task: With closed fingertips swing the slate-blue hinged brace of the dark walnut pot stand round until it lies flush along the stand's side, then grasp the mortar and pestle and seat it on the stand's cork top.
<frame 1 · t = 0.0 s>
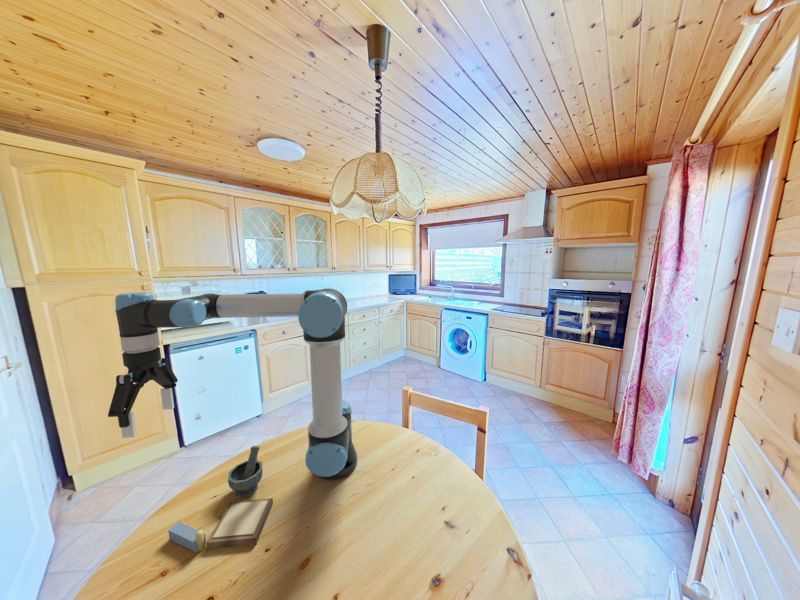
hand: (150, 421, 76), 28 cm above the table, fingers open, 13 cm apart
brace: (187, 534, 70), point 2 cm above the table, hinge at -25.0°
mortar and pestle: (248, 488, 88), on the table
stand: (242, 524, 75), on the table
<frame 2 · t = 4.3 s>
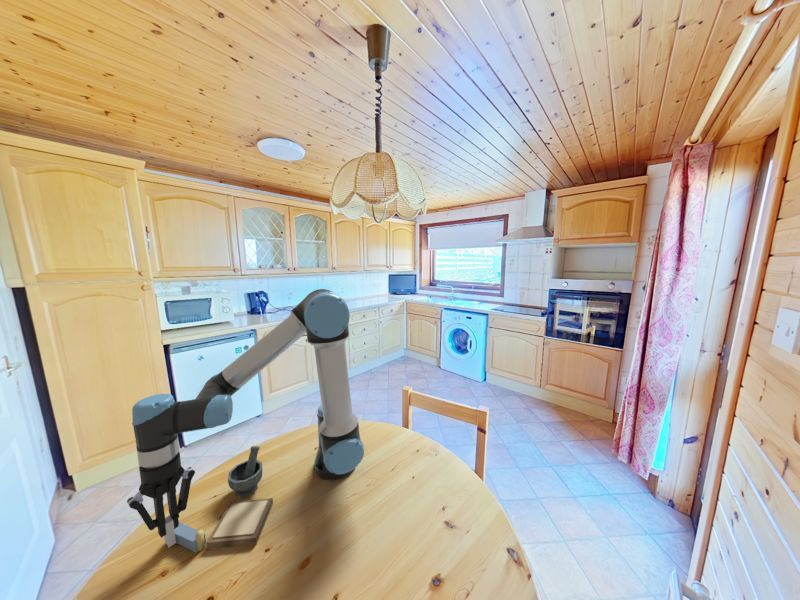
hand: (170, 542, 69), 1 cm above the table, fingers closed
brace: (187, 534, 70), point 2 cm above the table, hinge at -25.0°, touching gripper
everything else where it was.
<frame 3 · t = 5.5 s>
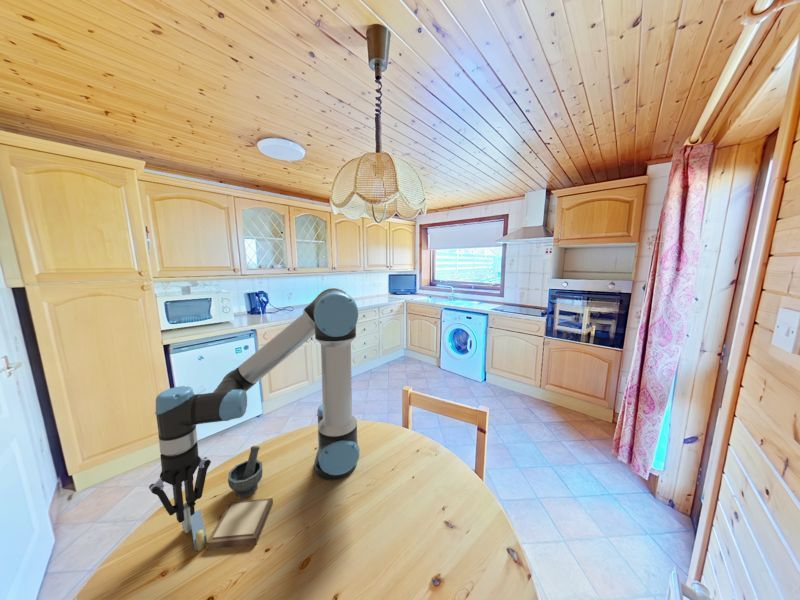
hand: (187, 528, 73), 1 cm above the table, fingers closed
brace: (197, 527, 72), point 2 cm above the table, hinge at -53.1°, touching gripper
everything else where it was.
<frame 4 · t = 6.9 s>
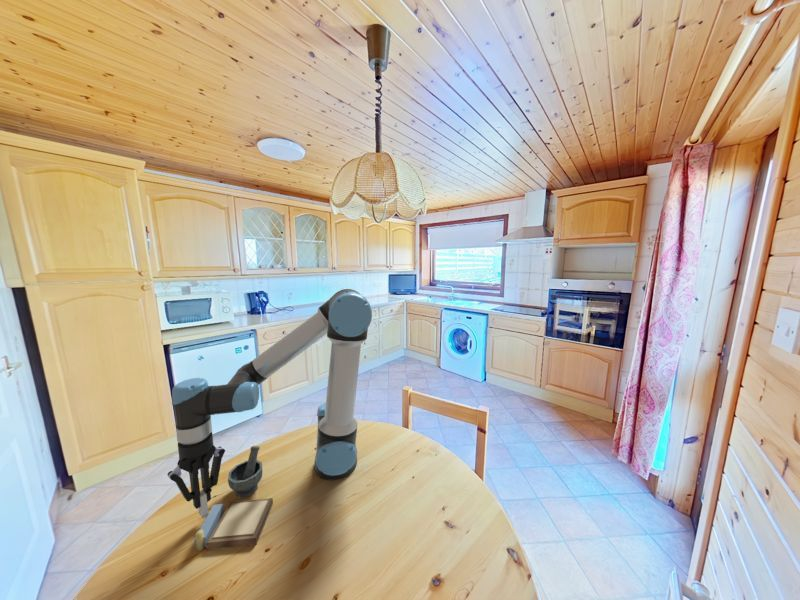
hand: (203, 513, 76), 3 cm above the table, fingers closed
brace: (209, 523, 73), point 2 cm above the table, hinge at -85.0°, touching gripper
everything else where it was.
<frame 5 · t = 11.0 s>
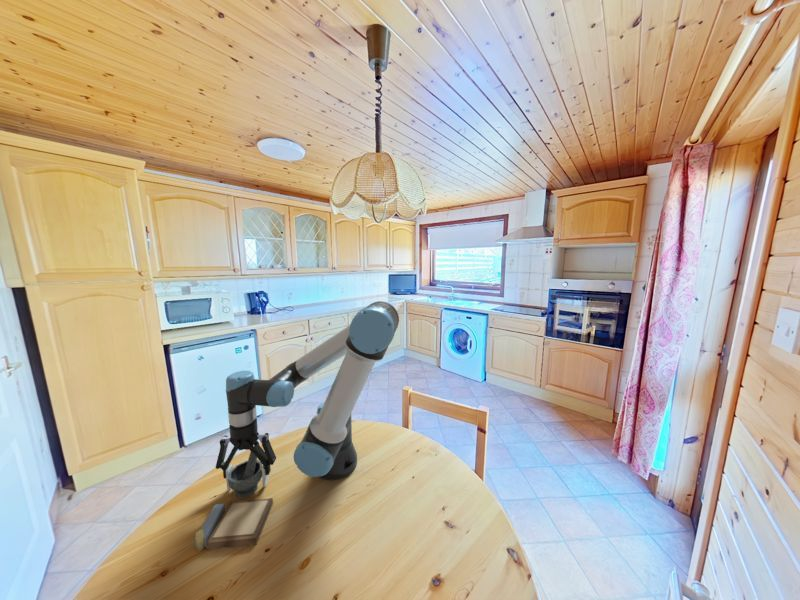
hand: (248, 484, 87), 1 cm above the table, fingers closed on mortar and pestle, 10 cm apart
brace: (209, 523, 73), point 2 cm above the table, hinge at -87.2°
mortar and pestle: (248, 488, 88), on the table, touching gripper
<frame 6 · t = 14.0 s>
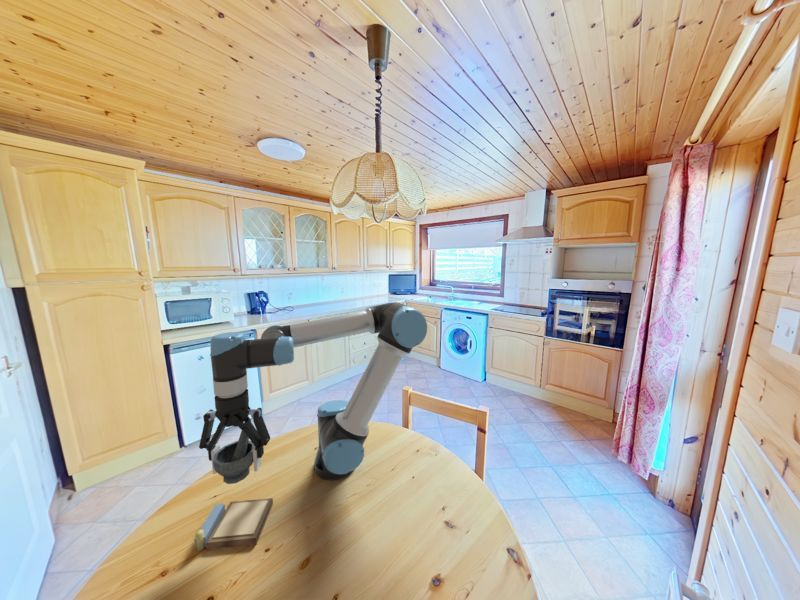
hand: (237, 468, 74), 17 cm above the table, fingers closed on mortar and pestle, 10 cm apart
mortar and pestle: (238, 473, 74), point 15 cm above the table, touching gripper
everything else where it was.
when the fingers open (5 cm above the table, at t = 16.8 s): mortar and pestle drops 1 cm, resting on stand.
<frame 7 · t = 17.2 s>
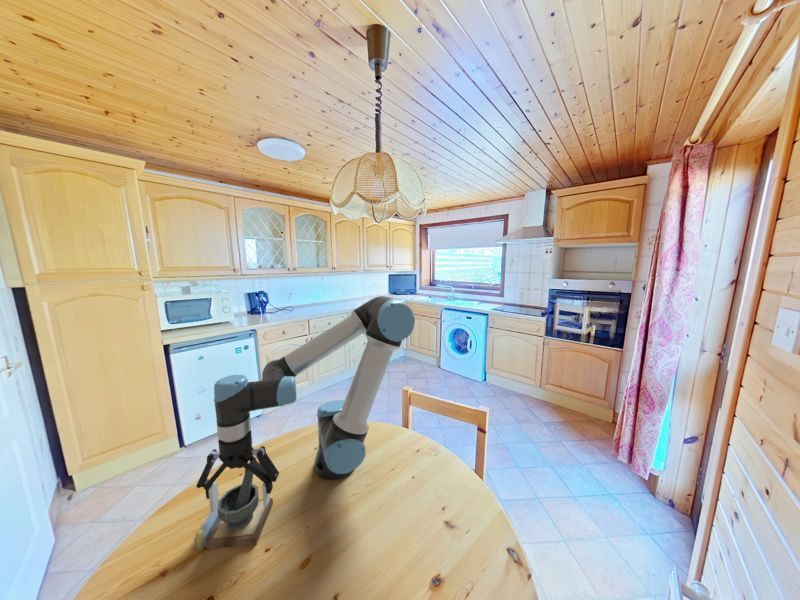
hand: (241, 505, 74), 6 cm above the table, fingers open, 13 cm apart
mortar and pestle: (242, 518, 75), point 2 cm above the table, touching stand
everything else where it was.
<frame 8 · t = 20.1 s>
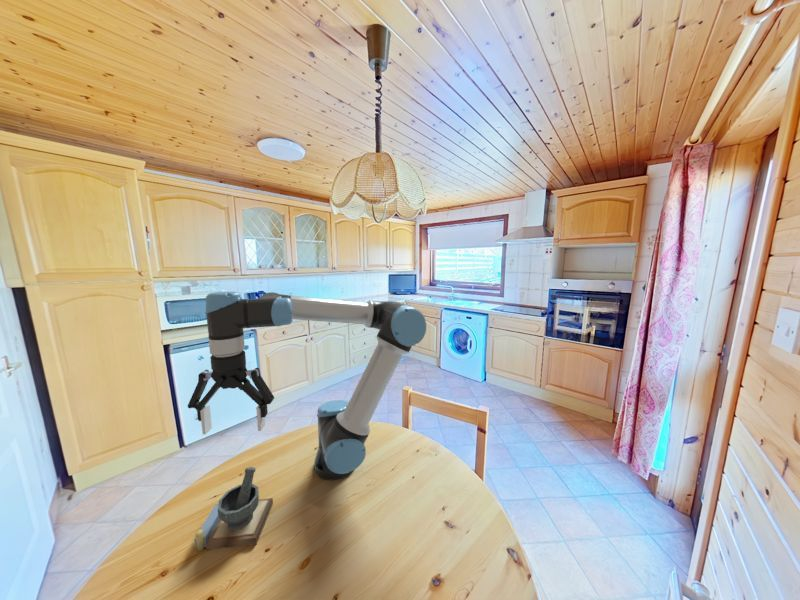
hand: (234, 429, 71), 29 cm above the table, fingers open, 13 cm apart
nothing on the table moved.
at the end: brace at -87° (first picture: -25°); mortar and pestle 0.1 cm from the stand (horizontally); mortar and pestle touching stand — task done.
